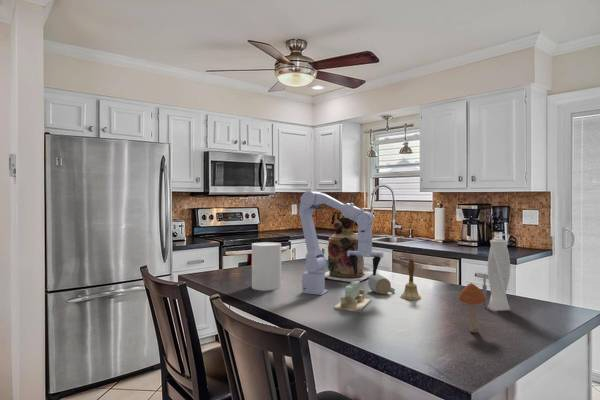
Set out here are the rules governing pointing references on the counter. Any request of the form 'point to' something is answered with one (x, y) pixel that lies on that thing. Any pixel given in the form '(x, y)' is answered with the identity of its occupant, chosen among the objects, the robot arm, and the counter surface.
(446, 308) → the counter surface
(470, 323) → the mushroom
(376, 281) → the ceramic mug
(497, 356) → the counter surface
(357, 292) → the glasses case
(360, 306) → the display stand
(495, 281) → the white twisted vase
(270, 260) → the canister
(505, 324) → the counter surface
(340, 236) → the cookie jar
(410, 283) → the hand bell
